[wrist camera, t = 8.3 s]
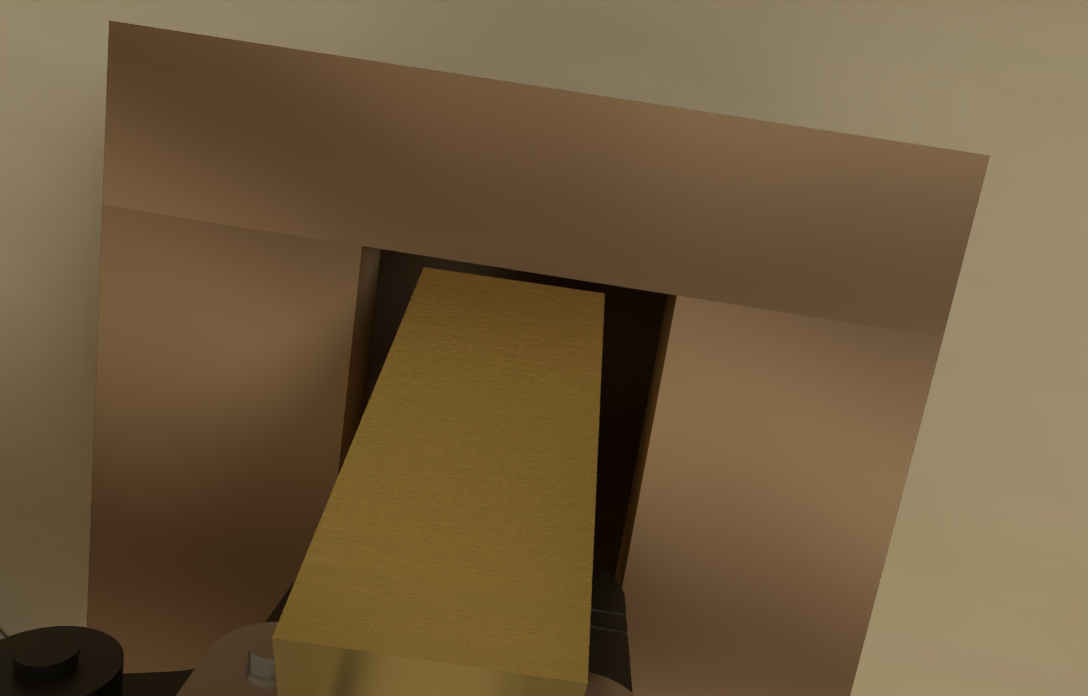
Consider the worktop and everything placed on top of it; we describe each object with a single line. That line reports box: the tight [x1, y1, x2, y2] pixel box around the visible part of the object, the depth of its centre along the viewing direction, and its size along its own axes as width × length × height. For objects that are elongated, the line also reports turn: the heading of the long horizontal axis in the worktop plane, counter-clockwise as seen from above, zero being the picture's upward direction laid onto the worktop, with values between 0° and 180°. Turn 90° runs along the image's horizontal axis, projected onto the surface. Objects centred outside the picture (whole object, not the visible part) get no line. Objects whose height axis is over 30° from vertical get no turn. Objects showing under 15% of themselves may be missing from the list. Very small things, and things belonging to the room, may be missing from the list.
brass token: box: [272, 267, 605, 696], centre depth 11 cm, size 6×2×6 cm, turn 172°
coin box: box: [87, 21, 990, 696], centre depth 18 cm, size 14×12×10 cm
